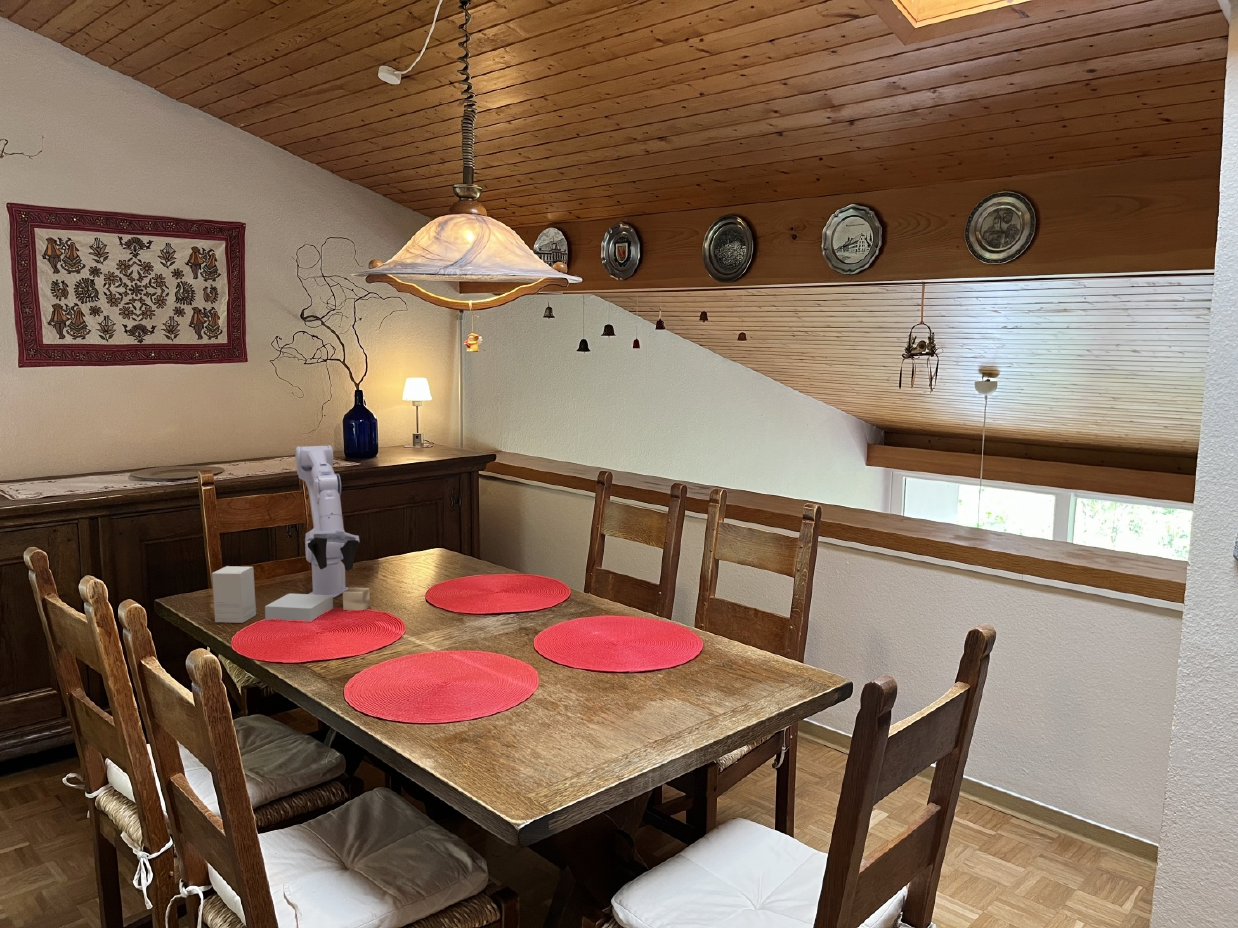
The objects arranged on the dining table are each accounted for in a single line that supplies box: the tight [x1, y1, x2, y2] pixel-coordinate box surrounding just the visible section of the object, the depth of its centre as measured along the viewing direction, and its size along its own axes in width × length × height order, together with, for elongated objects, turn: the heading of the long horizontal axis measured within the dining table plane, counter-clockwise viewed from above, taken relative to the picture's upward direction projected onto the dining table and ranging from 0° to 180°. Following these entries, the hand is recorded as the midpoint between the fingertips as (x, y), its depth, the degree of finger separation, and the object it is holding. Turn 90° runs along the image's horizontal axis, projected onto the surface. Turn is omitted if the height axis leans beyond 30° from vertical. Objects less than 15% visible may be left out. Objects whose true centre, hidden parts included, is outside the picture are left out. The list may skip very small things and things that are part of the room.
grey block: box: [264, 593, 334, 621], centre depth 232 cm, size 12×12×4 cm
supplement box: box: [211, 565, 257, 624], centre depth 227 cm, size 7×7×13 cm
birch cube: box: [342, 587, 371, 611], centre depth 237 cm, size 5×5×5 cm
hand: (336, 568), depth 231 cm, fingers open, 7 cm apart
